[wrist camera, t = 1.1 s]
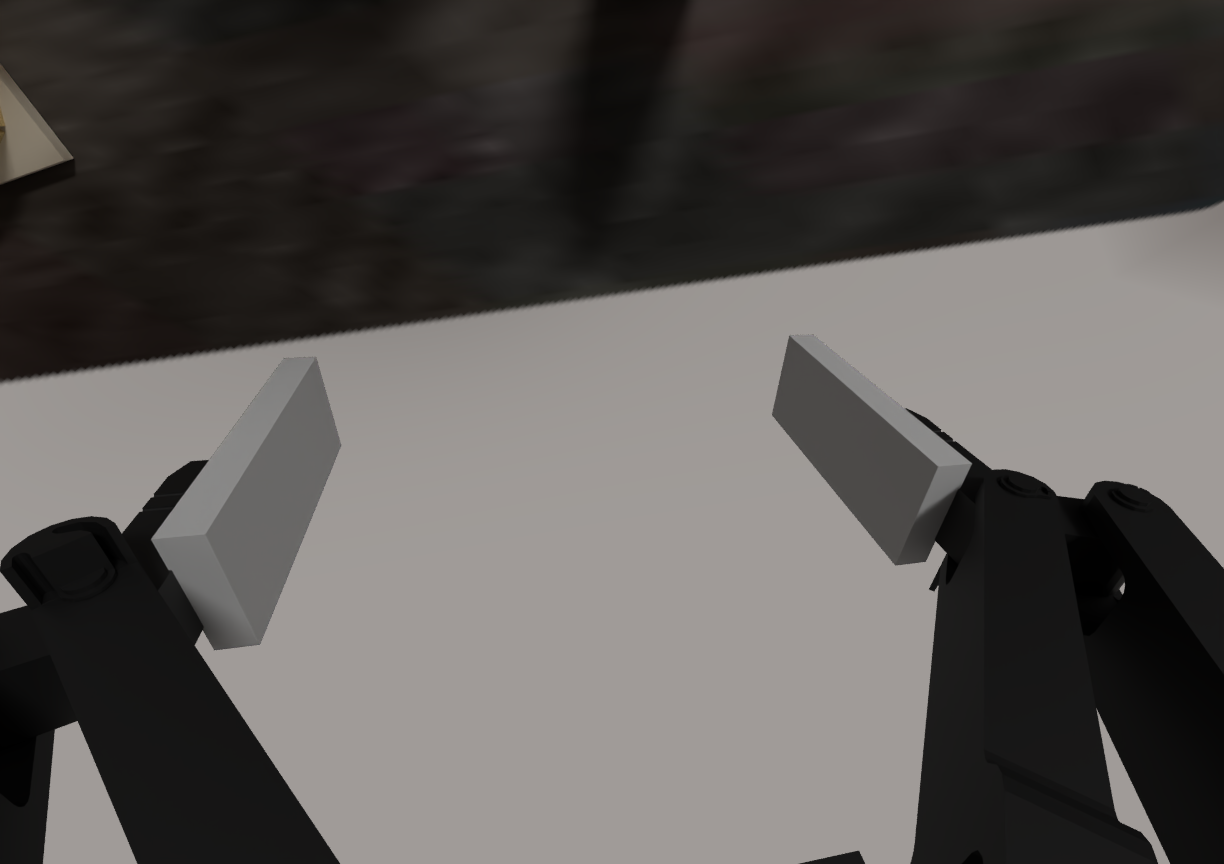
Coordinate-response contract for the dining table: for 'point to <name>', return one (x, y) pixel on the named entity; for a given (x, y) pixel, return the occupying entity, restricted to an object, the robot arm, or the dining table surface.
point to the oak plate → (25, 135)
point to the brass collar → (1, 123)
